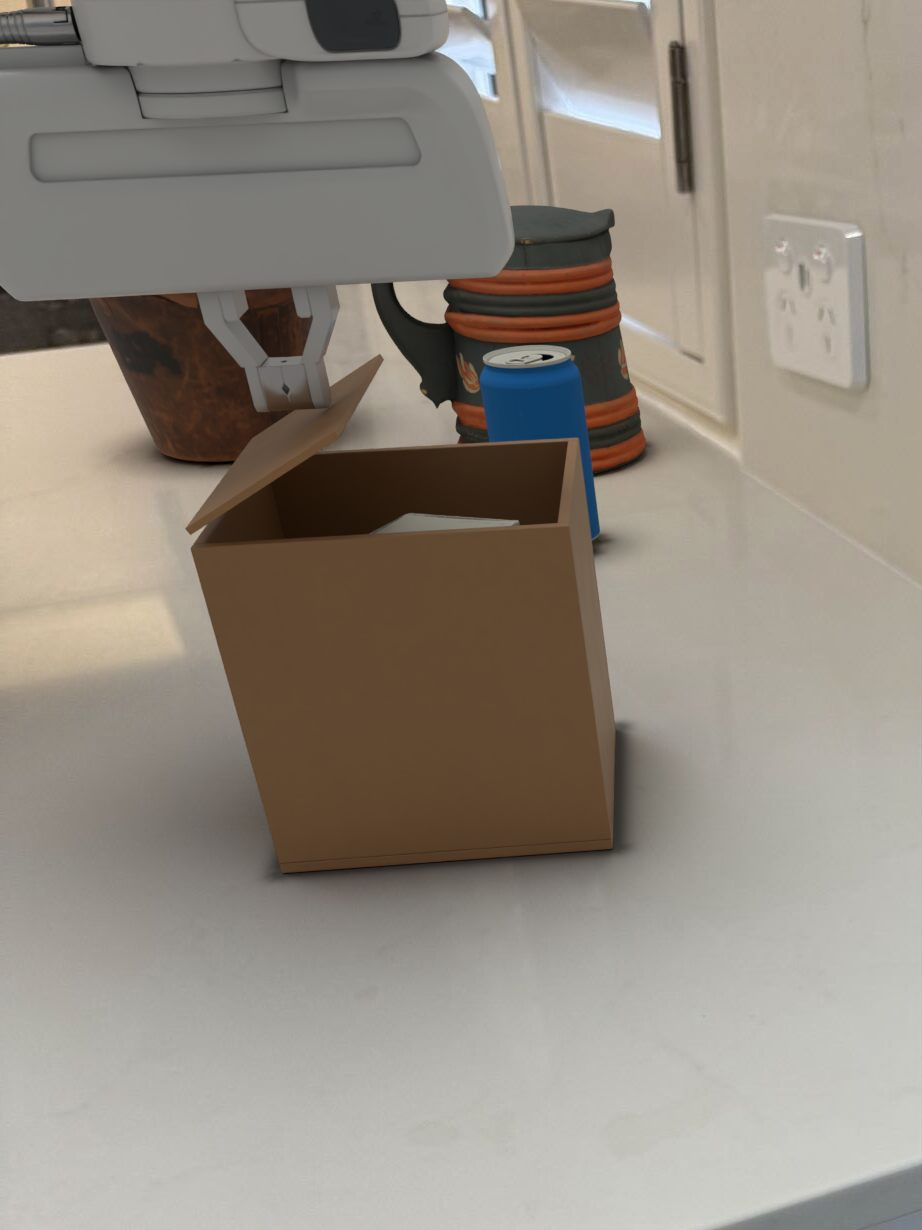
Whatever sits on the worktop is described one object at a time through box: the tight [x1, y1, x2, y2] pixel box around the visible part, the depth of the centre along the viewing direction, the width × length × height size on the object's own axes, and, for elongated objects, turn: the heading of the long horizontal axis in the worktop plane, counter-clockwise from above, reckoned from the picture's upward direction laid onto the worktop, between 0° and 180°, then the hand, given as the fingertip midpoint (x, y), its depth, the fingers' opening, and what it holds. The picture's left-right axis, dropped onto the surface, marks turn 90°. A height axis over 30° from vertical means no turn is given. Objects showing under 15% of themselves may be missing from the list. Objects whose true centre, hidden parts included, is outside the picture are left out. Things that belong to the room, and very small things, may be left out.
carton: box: [190, 438, 617, 874], centre depth 73 cm, size 15×14×14 cm
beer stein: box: [370, 204, 647, 474], centre depth 120 cm, size 19×15×20 cm
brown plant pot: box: [87, 288, 313, 463], centre depth 127 cm, size 18×20×18 cm
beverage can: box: [480, 345, 601, 541], centre depth 105 cm, size 6×6×12 cm
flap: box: [185, 353, 385, 536], centre depth 67 cm, size 7×14×1 cm, turn 7°
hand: (295, 407), depth 66 cm, fingers closed
